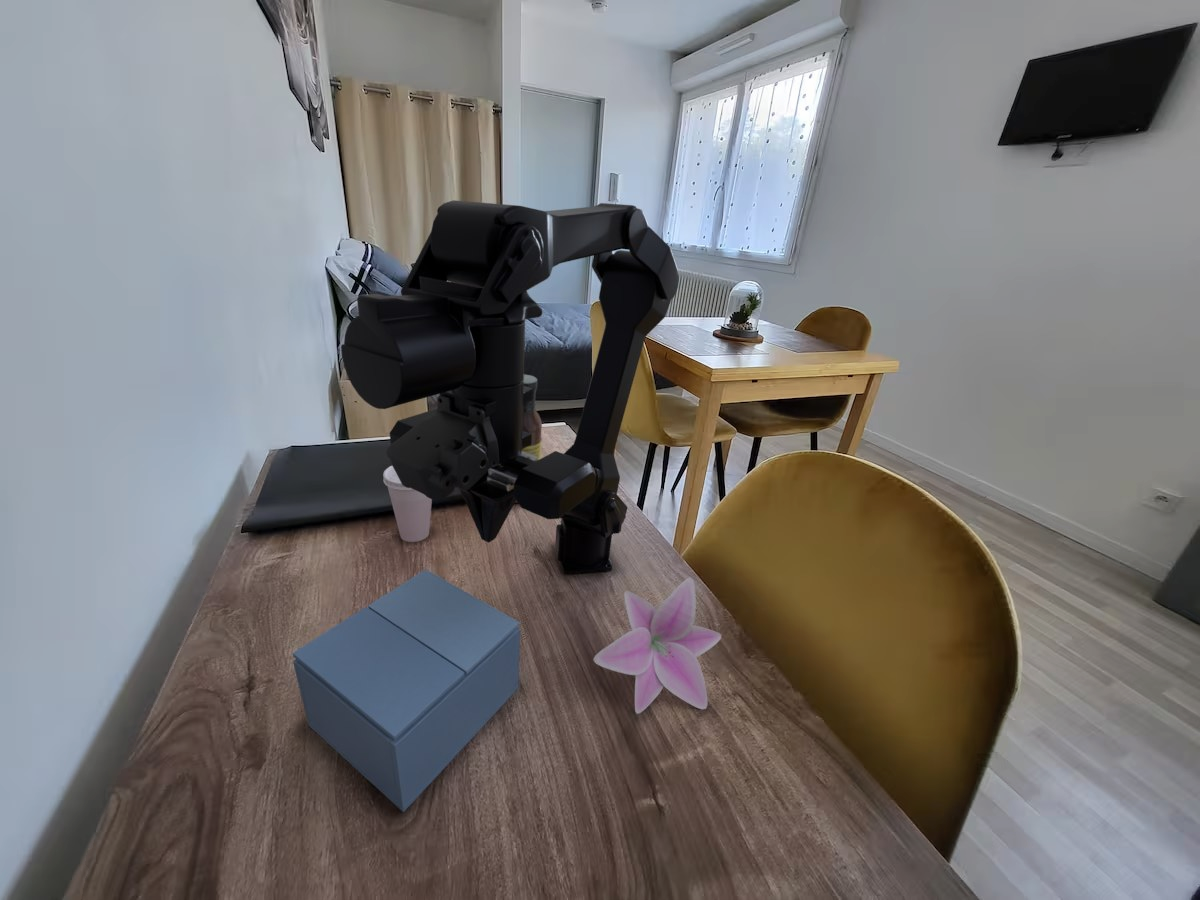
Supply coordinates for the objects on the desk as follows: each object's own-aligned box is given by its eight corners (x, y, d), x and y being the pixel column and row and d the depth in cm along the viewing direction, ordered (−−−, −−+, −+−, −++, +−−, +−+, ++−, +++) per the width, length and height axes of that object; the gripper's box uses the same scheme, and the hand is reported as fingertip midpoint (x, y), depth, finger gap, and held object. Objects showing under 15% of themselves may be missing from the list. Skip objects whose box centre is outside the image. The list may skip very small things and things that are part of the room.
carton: (430, 631, 51) (425, 568, 48) (518, 688, 46) (520, 621, 42) (307, 725, 41) (290, 653, 37) (403, 812, 36) (393, 738, 32)
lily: (569, 695, 47) (598, 672, 40) (605, 587, 55) (634, 552, 47) (681, 744, 47) (730, 730, 40) (701, 630, 55) (745, 601, 48)
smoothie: (387, 550, 63) (375, 452, 57) (392, 523, 68) (382, 431, 62) (439, 545, 64) (433, 450, 59) (439, 519, 70) (434, 430, 64)
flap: (425, 571, 48) (425, 568, 48) (519, 625, 43) (519, 622, 42) (368, 609, 43) (367, 605, 43) (466, 675, 38) (466, 671, 37)
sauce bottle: (497, 487, 80) (497, 370, 72) (534, 485, 82) (539, 370, 74) (502, 508, 74) (503, 383, 66) (542, 505, 76) (548, 383, 68)
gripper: (319, 371, 36) (346, 542, 43) (510, 439, 28) (507, 638, 35) (436, 349, 45) (443, 494, 52) (607, 396, 37) (590, 561, 44)
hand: (488, 539), depth 45 cm, fingers closed
